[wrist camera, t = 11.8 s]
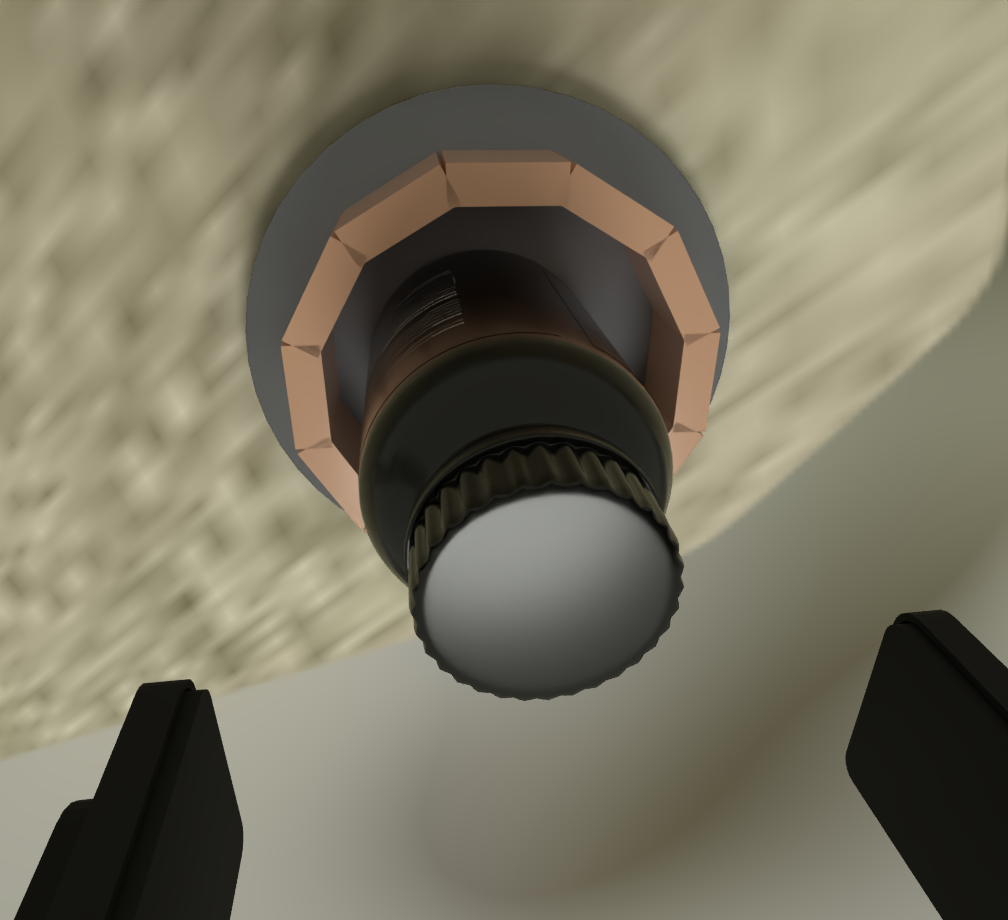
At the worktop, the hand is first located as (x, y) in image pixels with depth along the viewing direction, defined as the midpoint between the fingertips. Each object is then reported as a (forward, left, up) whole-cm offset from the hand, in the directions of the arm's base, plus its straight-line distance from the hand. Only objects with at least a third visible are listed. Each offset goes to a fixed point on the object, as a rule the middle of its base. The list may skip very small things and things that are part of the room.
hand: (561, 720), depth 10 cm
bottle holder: (+1, 0, -16) cm, 16 cm away
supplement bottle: (0, 0, -15) cm, 15 cm away
